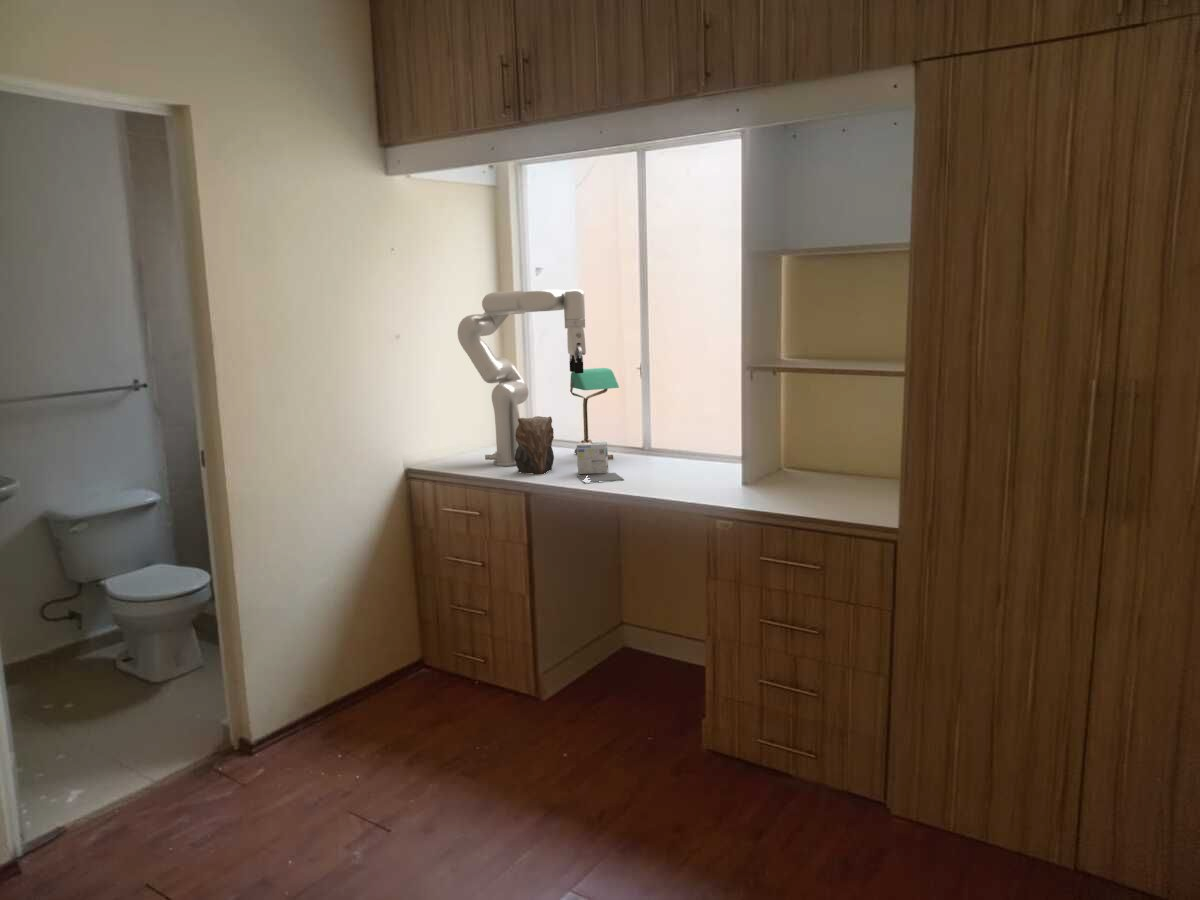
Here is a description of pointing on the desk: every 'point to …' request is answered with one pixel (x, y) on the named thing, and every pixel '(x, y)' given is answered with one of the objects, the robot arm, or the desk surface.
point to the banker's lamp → (592, 381)
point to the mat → (601, 477)
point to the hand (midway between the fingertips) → (576, 372)
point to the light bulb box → (592, 458)
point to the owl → (534, 445)
